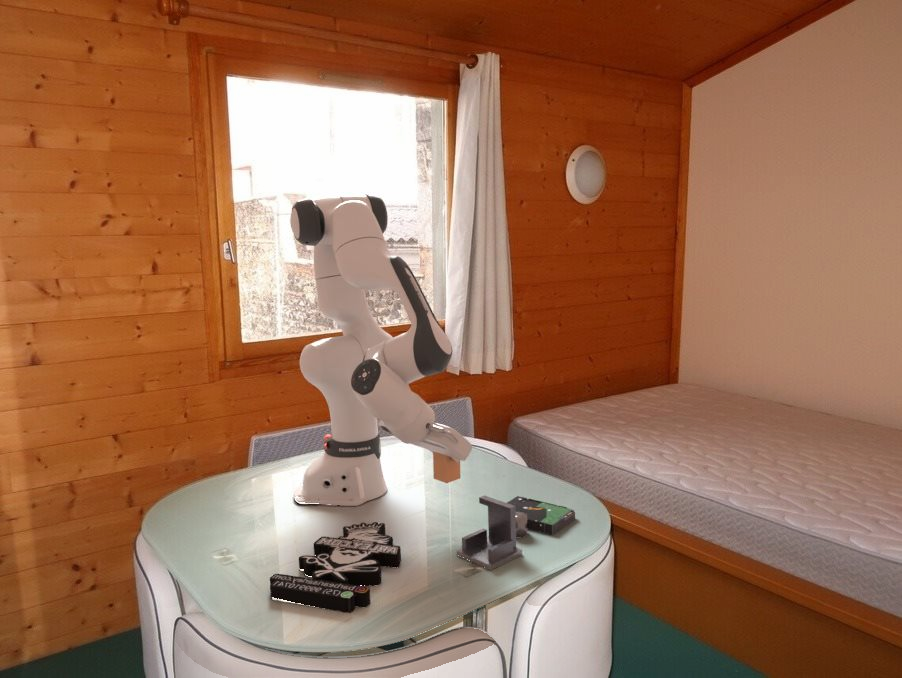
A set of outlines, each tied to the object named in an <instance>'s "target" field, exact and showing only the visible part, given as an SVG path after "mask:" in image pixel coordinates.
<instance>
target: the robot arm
mask: <svg viewBox="0 0 902 678" xmlns="http://www.w3.org/2000/svg"><path fill="white" fill-rule="evenodd" d="M388 218H389V217H388V211H387V206H386V203H385V202H384V200H383V199H382V198H381V197H380V196H379V195H376V194H373V193H363V194H358V193H338V194H336V195H328V196H319V197H315V198H310V197H307V198H303V199H299V200H297V201H296V202H295V203H294V205H293V206H292V208H291V212H290V220H289V223H290V229H291V231H292V233H293V235H294V238H295V239H296V241H297V242H299V244H301V245H304V246H311V247H313V269H314V271H313V272H314V279H315V285H316V292H317V299H318V305H319V310H320V312H321V313H322V315H323V316H325V318H327V319H330V320H332V321H334V322H335V323H337V325H338V326H339V328H340V330H341V332H342V335H340V336H339V335H338V336H332V337H326V338H325V337H324V338H321V339H319V340H316V341H313V342H312V343H309V344H307V345H305V346H304V347H303V348H302V351H301V354H300V357H299V368H300V371H301V374H302V375H303V377H304V379H305V380H306V381H307V382H308V383H309V384H311V385H312V386H315V388H317V389H318V390H319V391H320V392H321V393H322V395H323V396H324V398H325V400H326V403H327V406H328V409H329V415H330V426H331V434H329V433H328V434H326V435H325V436H324V438H323V450H324V453H323V454H321V455H319V457H317V458H316V459H315V460H314V461H313V462H311V463H310V464H309V465H308V467H306V470H305V472H304V474H303V479H302V483H301V484H303V486H300V485H301V484H299V485H298V486H297V487H296V488H295V490H294V493H293V498H294V497H296V496H298V497H300V498H296V500H297V501H298V502H305V503H319V504H331V505H330V506H337V505H340V507H341V506H346V507H348V506H349V507H351V506H352V507H357V506H360V505H363V504H364V503H366V502H368V501H372V500H374V499H378V498H379V497H381V496H383V495H384V494H386V493H387V491H388V486H387V484H386V481H385V476H384V473H383V469H382V463H381V456H382V455H381V454H382V443H381V437H380V436H381V435H380V433H379V430H378V427H379V428H380V429H381V430H383V431H385V432H387V433H390V434H391V435H392V436H394V437H395V438H396V439H398V440H400V441H401V442H402V443H404V444H407V445H410V444H411V445H414V446H416V447H418V448H419V447H420V448H422V449H426V450H427V451H429V452H431V453H432V454H433V451H434V452H437V453H440V454H443V455H446V456H449V458H450V459H451V460H452V461H455V462H459V461H460V462H461V461H462V462H466V460H467V459H468V458H469V456H470V454H471V452H472V449H473V444H472V443H471V442H470V441H469V440H468V439H467V438H465V436H463V435H462V434H461V433H460V432H459V431H458V430H456V429H455V428H453V427H450V426H448V425H445V424H441V423H438V422H435V421H436V416H435V415H436V413H435V411H434V410H433V409H432V407H431V406H430V405H429V404H428V403H427V402H426V401H425V400H424V399H422V398H421V396H419V394H417V393H416V392H414V391H412V389H411V388H410V385H409V384H411V383H413V382H415V381H418V380H421V379H423V378H426V377H429V376H433V375H436V374H439V373H442V372H443V373H444V371H445V370H446V369H447V368H448V366H449V363H450V361H451V359H452V356H453V347H452V343H451V341H450V339H449V337H448V336H447V334H446V332H445V330H444V328H442V325H441V324H440V323H439V321H438V320H437V317H436V316H435V314H434V312H433V309H432V307H431V305H430V304H429V302H428V300H427V297H426V296H425V293H424V291H423V290H422V288H421V286H420V283H419V282H418V280H417V278H416V276H415V275H414V272H413V271H412V269H411V267H410V265H408V264H407V262H406V261H405V260H404V259H403V258H402V257H400V256H398V255H397V256H396V255H392V253H391V252H390V250H389V249H388V246H387V243H386V239H385V237H384V234H385V232H386V231H387V228H388ZM386 290H387V291H395V293H396V294H397V295H398V298H399V300H400V302H401V304H402V306H403V308H404V311H405V313H406V314H407V316H408V319H409V321H410V324H411V325H410V328H409V329H408V330H407V331H406V332H403V333H400V334H399V335H397V336H394V337H393V336H392V335H391V334H390V333H388V332H387V331H385V330H384V329H383V328H382V327H381V326H380V325H379V324H378V323H377V320H376V319H375V318H374V316H373V314H372V313H371V311H370V310H371V309H370V307H369V304H368V301H367V297H366V291H372V292H373V291H386ZM378 420H379V422H378ZM294 495H295V496H294Z"/></svg>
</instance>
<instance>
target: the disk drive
mask: <svg viewBox="0 0 902 678" xmlns="http://www.w3.org/2000/svg"><path fill="white" fill-rule="evenodd" d="M506 503H508V504H511V505H514V506H516V512H523V513H525V514H527V529H528V528H529V530H532V529H533V530H532V531H535V530H536V531H537V532H539V531H540V533H542V532H543V534H547V533H548V535H550V536H554V535H555V534H557V533H558V532H560V531H561V530H562V529H563V528H564V527H565V528H566V526H567V525H569V524H570V523H572V522H573V521H574V520H575V519H576V511H575V510H574V509H573V508H568V507H567V506H563V505H558V504H555V503H549V502H544V501H541V500H537V499H532V498H528V497H524V496H519V495H517V496H516V497H514V498H512V499H510V500H509V501H507V502H506ZM536 531H535V532H536Z"/></svg>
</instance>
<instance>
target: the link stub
mask: <svg viewBox="0 0 902 678" xmlns="http://www.w3.org/2000/svg"><path fill="white" fill-rule="evenodd" d="M526 535H527V536H528V528H527V514H525V513H523V512H516V537H522V538H525V537H527V536H526ZM524 536H525V537H524Z"/></svg>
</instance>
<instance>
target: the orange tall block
mask: <svg viewBox="0 0 902 678" xmlns="http://www.w3.org/2000/svg"><path fill="white" fill-rule="evenodd" d="M432 461H433V462H432V466H433V480H436V481H439V482H442V483H445V484H448V483H449V484H450V483H451V482H454V481H457V480H459V479H461V460H460V461H459V462H455V461H452V460H451V459H450V458H449V456H446V455H443V454H440V453H437V452H434V451H433V453H432Z"/></svg>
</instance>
